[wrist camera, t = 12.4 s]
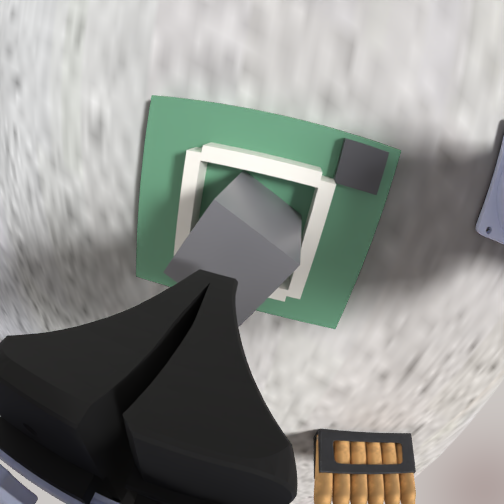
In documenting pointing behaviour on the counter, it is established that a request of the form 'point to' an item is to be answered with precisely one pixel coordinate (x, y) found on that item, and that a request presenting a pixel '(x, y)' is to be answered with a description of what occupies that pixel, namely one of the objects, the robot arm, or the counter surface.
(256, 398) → the robot arm
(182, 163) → the board
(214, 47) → the counter surface
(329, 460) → the ammunition clip
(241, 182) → the plug
